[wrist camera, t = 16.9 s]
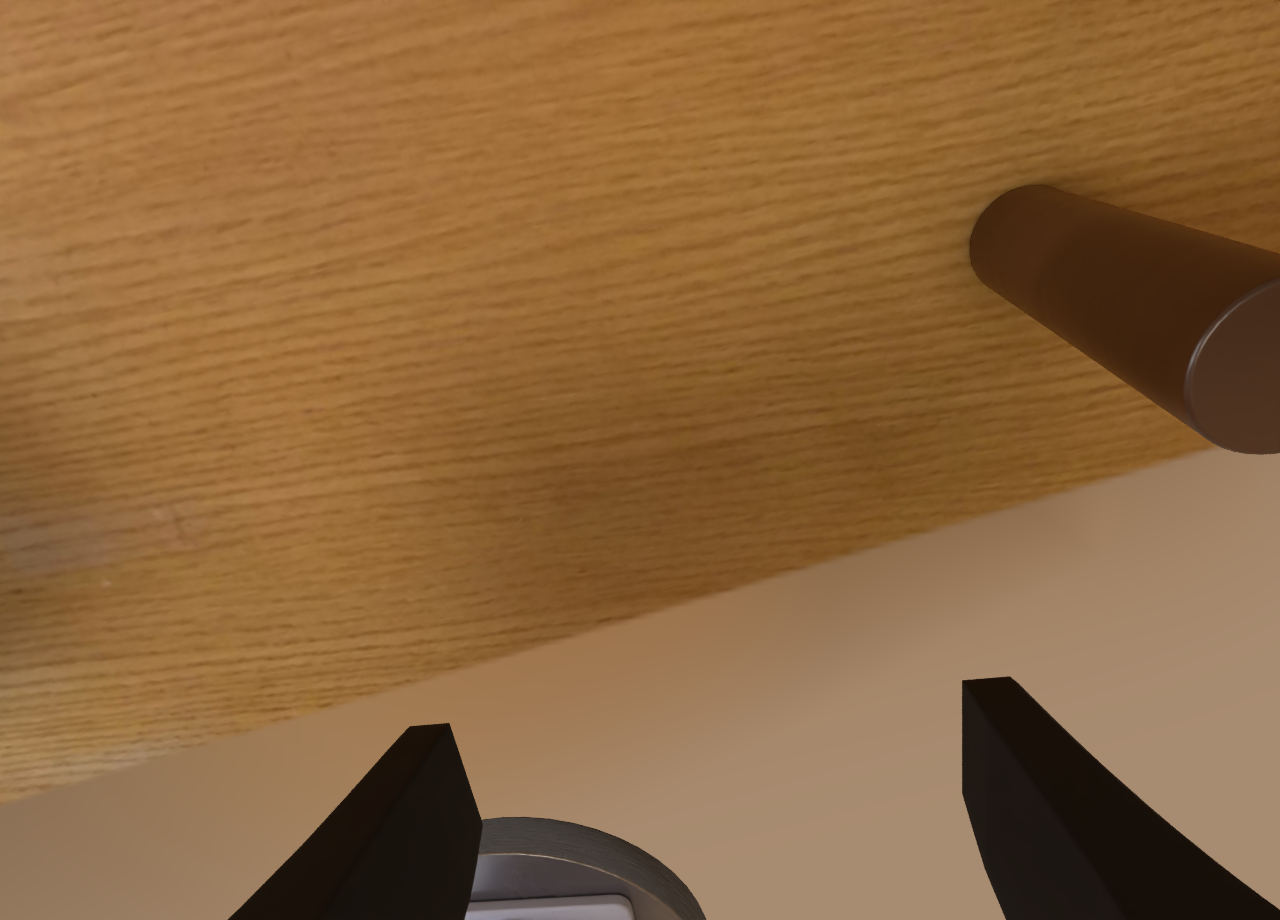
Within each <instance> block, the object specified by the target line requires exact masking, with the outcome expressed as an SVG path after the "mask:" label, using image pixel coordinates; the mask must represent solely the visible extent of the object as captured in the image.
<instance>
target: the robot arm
mask: <svg viewBox="0 0 1280 920" xmlns="http://www.w3.org/2000/svg"><path fill="white" fill-rule="evenodd" d="M962 794H963V797H964V801H965V804H966V808H967V811H968V814H969V818H970V821H971V825H972V828H973V832H974V835H975V838H976V841H977V845H978V848H979V851H980V854H981V858H982V861H983V864H984V867H985V870H986V873H987V875H988V878H989V880H990V882H991V885H992V887H993V889H994V892H995V894H996V897H997V899H998V901H999V904H1000V906H1001V909H1002V911H1003V913H1004V916H1005V918H1006V920H1280V910H1279V909H1278V908H1277V907H1275V906H1274V905H1273V904H1271V903H1270V902H1268V901H1267V900H1266V899H1264V898H1262V897H1261V896H1260V895H1259V894H1258V893H1256V892H1255V891H1254V890H1252V889H1251V888H1249V887H1248V886H1247V885H1246V884H1244V883H1243V882H1241V881H1240V880H1239V879H1238V878H1236V877H1235V876H1234V875H1232V874H1231V873H1230V872H1229V871H1227V870H1226V869H1225V868H1223V867H1222V866H1221V865H1220V864H1218V863H1217V862H1216V861H1214V860H1213V859H1212V858H1211V857H1210V856H1208V855H1207V854H1206V853H1205V852H1203V851H1202V850H1201V849H1200V848H1198V847H1197V846H1196V845H1195V844H1194V843H1192V842H1191V841H1190V840H1189V839H1187V838H1186V837H1185V836H1183V834H1181V833H1180V832H1179V831H1178V830H1176V829H1175V828H1174V827H1173V826H1171V825H1170V824H1169V823H1168V822H1167V821H1165V820H1164V819H1163V818H1162V817H1161V816H1160V815H1158V814H1157V813H1156V812H1155V811H1154V810H1153V809H1151V808H1150V807H1149V806H1148V805H1147V804H1146V803H1145V802H1144V801H1142V800H1141V799H1140V798H1139V797H1138V796H1137V795H1136V794H1134V793H1133V792H1132V791H1131V790H1130V789H1129V788H1128V787H1127V786H1125V785H1124V784H1123V783H1122V782H1121V781H1120V780H1119V779H1118V778H1117V777H1115V776H1114V775H1113V774H1112V773H1111V772H1110V771H1109V770H1108V769H1106V768H1105V767H1104V766H1103V765H1102V764H1101V763H1100V762H1099V761H1098V760H1097V759H1095V758H1094V757H1093V756H1092V755H1091V754H1090V753H1089V752H1088V751H1087V750H1086V749H1085V748H1084V747H1083V746H1082V745H1081V744H1080V743H1079V742H1078V741H1076V740H1075V739H1074V738H1073V737H1072V736H1071V735H1070V734H1069V733H1068V732H1067V731H1066V730H1065V729H1064V728H1063V727H1062V726H1061V725H1060V724H1059V723H1058V722H1057V721H1056V720H1055V719H1054V718H1053V717H1051V716H1050V714H1049V713H1048V712H1047V711H1045V710H1044V709H1043V708H1042V707H1041V706H1040V705H1039V704H1038V703H1037V702H1036V701H1035V700H1034V699H1033V698H1032V697H1031V696H1030V695H1029V694H1028V693H1027V692H1026V691H1025V690H1024V689H1023V688H1022V687H1021V686H1020V685H1019V684H1018V683H1017V682H1016V681H1015V680H1013V679H1012V678H1011V677H997V678H985V679H974V680H963V681H962ZM482 829H483V823H482V820H481V817H480V814H479V811H478V808H477V805H476V802H475V799H474V796H473V793H472V790H471V787H470V784H469V781H468V778H467V775H466V772H465V769H464V766H463V763H462V760H461V757H460V754H459V751H458V748H457V745H456V742H455V739H454V736H453V733H452V730H451V727H450V724H449V723H444V724H433V725H420V726H410V727H409V728H408V729H407V730H406V731H405V732H404V733H403V734H402V735H401V736H400V737H399V738H398V739H397V741H396V742H395V743H394V744H393V745H392V746H391V747H390V748H389V749H388V750H387V752H386V753H385V754H384V755H383V756H382V757H381V758H380V759H379V761H378V762H377V763H376V764H375V765H374V766H373V767H372V768H371V770H370V771H369V772H368V773H367V774H366V775H365V776H364V777H363V779H362V780H361V781H360V782H359V783H358V784H357V785H356V786H355V788H354V789H353V790H352V791H351V792H350V793H349V794H348V796H347V797H346V798H345V799H344V800H343V801H342V802H341V803H340V804H339V805H338V806H337V808H336V809H335V810H334V811H333V812H332V813H331V814H330V815H329V816H328V818H326V820H325V821H324V822H323V823H322V824H321V825H320V826H319V827H318V828H317V829H316V831H315V832H314V833H313V834H312V835H311V836H310V837H309V838H308V839H307V840H306V841H305V842H304V843H303V845H302V846H301V847H300V848H299V849H298V850H297V851H296V852H295V853H294V854H293V855H292V856H291V857H290V858H289V859H288V860H287V861H286V862H285V863H284V864H283V865H282V866H281V867H280V868H279V869H278V870H277V871H276V872H275V873H274V874H273V875H272V876H271V877H270V878H269V879H268V880H267V881H266V882H265V883H264V884H263V885H262V886H261V887H260V888H259V889H258V890H257V891H256V892H255V893H254V894H253V895H252V896H251V897H250V899H248V900H247V901H246V903H244V904H243V905H242V906H241V908H240V909H238V910H237V911H236V912H235V913H234V914H233V915H232V916H231V917H230V918H229V919H228V920H635V917H634V913H633V909H632V905H631V903H630V901H629V900H628V899H627V898H625V897H624V896H621V895H614V894H613V895H595V896H577V897H559V898H540V899H522V900H504V901H486V902H470V898H471V893H472V888H473V882H474V877H475V872H476V866H477V860H478V854H479V848H480V841H481V835H482Z"/></svg>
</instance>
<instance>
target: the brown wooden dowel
mask: <svg viewBox="0 0 1280 920" xmlns="http://www.w3.org/2000/svg"><path fill="white" fill-rule="evenodd" d="M970 258H971V263H972V266H973V269H974V271H975V273H976V275H977V276H978V277H979V279H980V280H981V281H982V282H983V283H984V284H985V285H986V286H988V287H989V288H991V289H992V290H994V291H995V292H996V293H998V294H999V295H1001V296H1002V297H1004V298H1005V299H1006V300H1008V301H1009V302H1011V303H1012V304H1014V305H1015V306H1017V307H1018V308H1019V309H1021V310H1022V311H1024V312H1025V313H1027V314H1028V315H1029V316H1031V317H1032V318H1034V319H1035V320H1037V321H1038V322H1040V323H1041V324H1042V325H1044V326H1045V327H1047V328H1048V329H1050V330H1051V331H1052V332H1054V333H1055V334H1057V335H1058V336H1060V337H1061V338H1062V339H1064V340H1065V341H1067V342H1068V343H1070V344H1071V345H1073V346H1074V347H1075V348H1077V349H1078V350H1080V351H1081V352H1083V353H1084V354H1085V355H1087V356H1088V357H1090V358H1091V359H1093V360H1094V361H1096V362H1097V363H1098V364H1100V365H1101V366H1103V367H1104V368H1106V369H1107V370H1108V371H1110V372H1111V373H1113V374H1114V375H1116V376H1117V377H1119V378H1120V379H1121V380H1123V381H1124V382H1126V383H1127V384H1129V385H1130V386H1131V387H1133V388H1134V389H1136V390H1137V391H1139V392H1140V393H1142V394H1143V395H1144V396H1146V397H1147V398H1149V399H1150V400H1152V401H1153V402H1154V403H1156V404H1157V405H1159V406H1160V407H1162V408H1163V409H1165V410H1166V411H1167V412H1169V413H1170V414H1172V415H1173V416H1175V417H1176V418H1177V419H1179V420H1180V421H1182V422H1183V423H1185V424H1186V425H1188V426H1189V427H1190V428H1192V429H1193V430H1195V431H1196V432H1198V433H1199V434H1200V435H1202V436H1203V437H1205V438H1206V439H1208V440H1209V441H1211V442H1212V443H1214V444H1216V445H1218V446H1220V447H1222V448H1224V449H1227V450H1230V451H1234V452H1239V453H1245V454H1260V455H1261V454H1276V453H1280V254H1279V253H1275V252H1272V251H1269V250H1265V249H1262V248H1258V247H1255V246H1251V245H1248V244H1244V243H1241V242H1238V241H1234V240H1231V239H1227V238H1224V237H1220V236H1217V235H1214V234H1210V233H1207V232H1203V231H1200V230H1196V229H1193V228H1189V227H1186V226H1183V225H1179V224H1176V223H1172V222H1169V221H1165V220H1162V219H1158V218H1155V217H1152V216H1148V215H1145V214H1141V213H1138V212H1134V211H1131V210H1128V209H1124V208H1121V207H1117V206H1114V205H1110V204H1107V203H1103V202H1100V201H1097V200H1093V199H1090V198H1086V197H1083V196H1079V195H1076V194H1072V193H1069V192H1066V191H1062V190H1059V189H1055V188H1052V187H1048V186H1042V185H1031V186H1024V187H1020V188H1017V189H1014V190H1011V191H1009V192H1007V193H1005V194H1004V195H1002V196H1001V197H999V198H998V199H996V200H995V201H994V202H993V203H992V204H991V205H990V206H989V207H988V208H987V209H986V210H985V211H984V212H983V214H982V215H981V216H980V218H979V220H978V221H977V223H976V225H975V228H974V230H973V233H972V236H971V241H970Z"/></svg>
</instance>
